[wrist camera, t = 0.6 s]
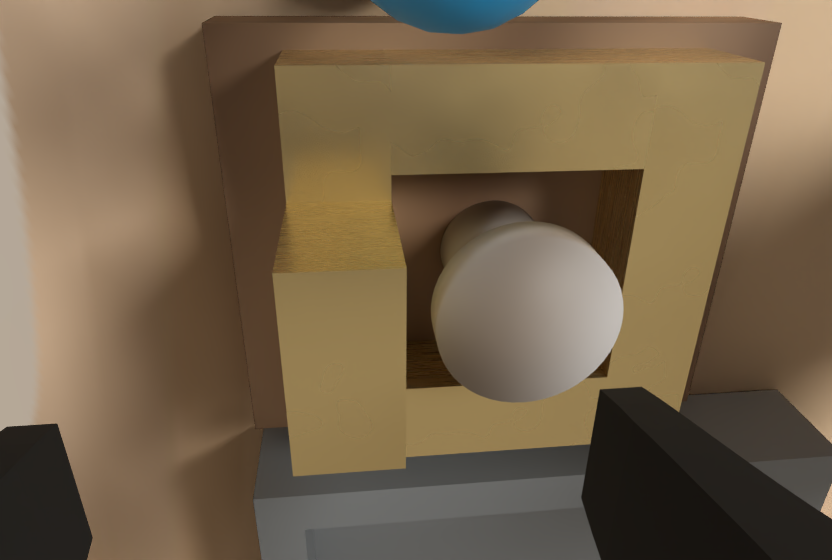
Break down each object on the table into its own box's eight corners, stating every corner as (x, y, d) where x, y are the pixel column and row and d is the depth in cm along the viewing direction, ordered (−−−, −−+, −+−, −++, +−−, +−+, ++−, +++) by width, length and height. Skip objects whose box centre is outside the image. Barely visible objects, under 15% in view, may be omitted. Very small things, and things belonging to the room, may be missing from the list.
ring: (709, 48, 14) (888, 94, 9) (639, 390, 18) (739, 535, 13) (282, 50, 13) (253, 101, 8) (311, 410, 17) (303, 572, 12)
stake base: (741, 16, 15) (917, 44, 10) (662, 370, 20) (761, 496, 15) (214, 16, 14) (155, 47, 9) (261, 394, 18) (236, 539, 14)
